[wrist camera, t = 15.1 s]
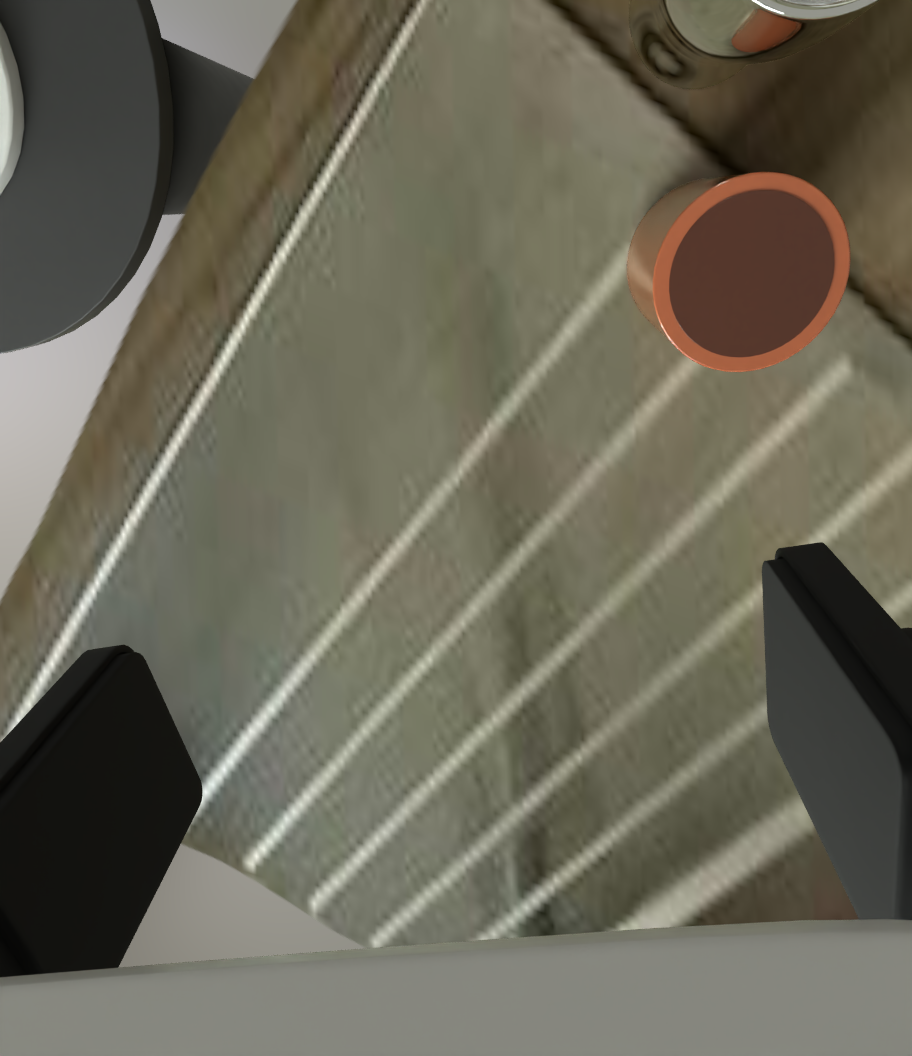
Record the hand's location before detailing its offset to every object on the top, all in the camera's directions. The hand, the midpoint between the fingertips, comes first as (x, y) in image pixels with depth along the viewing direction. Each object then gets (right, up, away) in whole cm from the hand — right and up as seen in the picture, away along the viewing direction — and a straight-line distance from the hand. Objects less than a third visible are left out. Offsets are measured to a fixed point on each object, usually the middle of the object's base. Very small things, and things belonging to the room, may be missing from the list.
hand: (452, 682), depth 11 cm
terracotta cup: (+12, +15, +24) cm, 31 cm away
